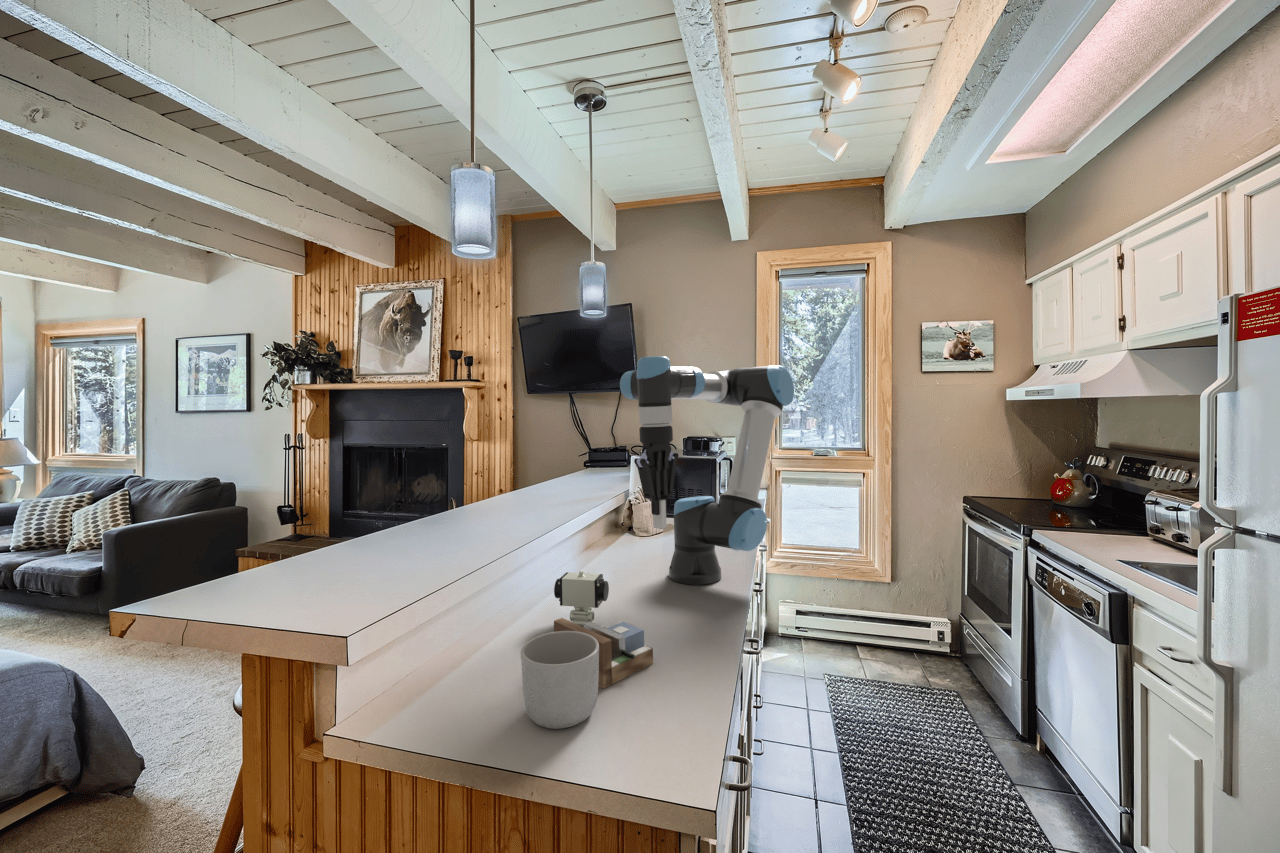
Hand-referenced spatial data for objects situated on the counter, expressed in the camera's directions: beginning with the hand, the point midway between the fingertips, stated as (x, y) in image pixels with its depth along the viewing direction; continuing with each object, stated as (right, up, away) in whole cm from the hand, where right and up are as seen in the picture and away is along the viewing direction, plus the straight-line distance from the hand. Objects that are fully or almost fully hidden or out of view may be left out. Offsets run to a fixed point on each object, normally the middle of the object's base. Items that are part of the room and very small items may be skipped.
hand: (660, 527), depth 120 cm
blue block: (-8, -22, -16) cm, 29 cm away
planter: (-17, -23, -36) cm, 46 cm away
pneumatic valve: (-18, -22, 0) cm, 28 cm away
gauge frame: (-11, -22, -19) cm, 31 cm away
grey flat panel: (-10, -22, -20) cm, 32 cm away
